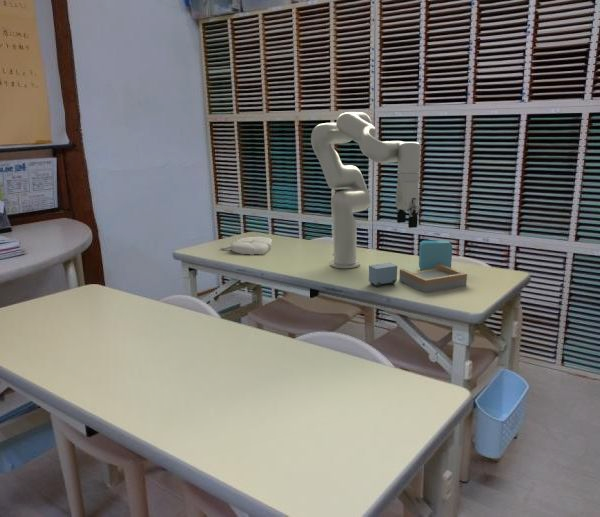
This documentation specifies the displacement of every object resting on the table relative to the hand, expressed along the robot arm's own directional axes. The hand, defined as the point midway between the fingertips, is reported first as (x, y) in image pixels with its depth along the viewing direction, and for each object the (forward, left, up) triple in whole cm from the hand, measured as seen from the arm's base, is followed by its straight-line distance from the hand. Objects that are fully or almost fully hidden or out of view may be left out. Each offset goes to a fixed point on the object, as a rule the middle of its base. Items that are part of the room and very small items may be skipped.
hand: (406, 224), depth 181 cm
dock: (+6, +8, -22) cm, 24 cm away
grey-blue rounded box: (-1, -9, -22) cm, 24 cm away
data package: (-7, +19, -22) cm, 30 cm away
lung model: (-76, -40, -22) cm, 89 cm away
